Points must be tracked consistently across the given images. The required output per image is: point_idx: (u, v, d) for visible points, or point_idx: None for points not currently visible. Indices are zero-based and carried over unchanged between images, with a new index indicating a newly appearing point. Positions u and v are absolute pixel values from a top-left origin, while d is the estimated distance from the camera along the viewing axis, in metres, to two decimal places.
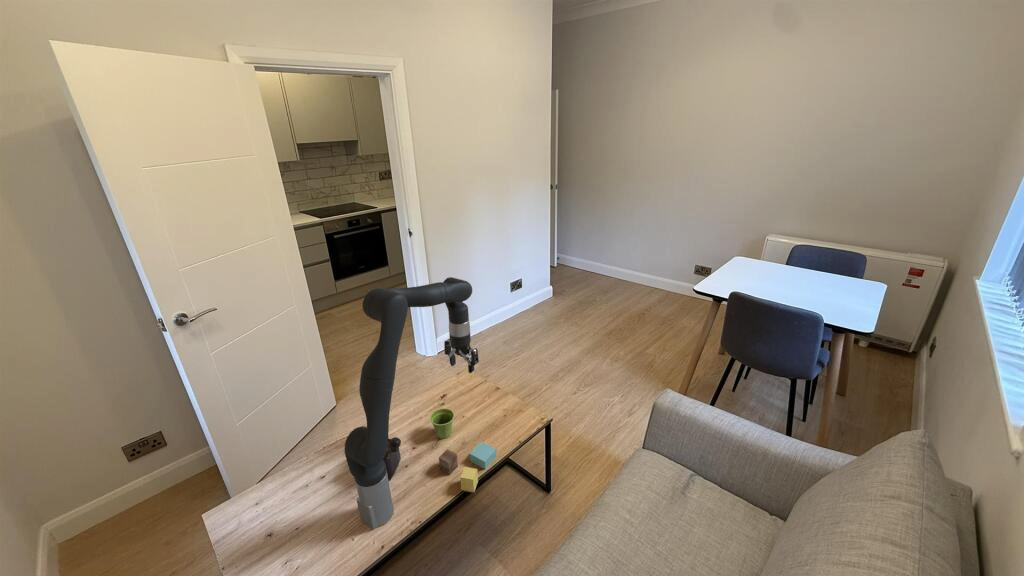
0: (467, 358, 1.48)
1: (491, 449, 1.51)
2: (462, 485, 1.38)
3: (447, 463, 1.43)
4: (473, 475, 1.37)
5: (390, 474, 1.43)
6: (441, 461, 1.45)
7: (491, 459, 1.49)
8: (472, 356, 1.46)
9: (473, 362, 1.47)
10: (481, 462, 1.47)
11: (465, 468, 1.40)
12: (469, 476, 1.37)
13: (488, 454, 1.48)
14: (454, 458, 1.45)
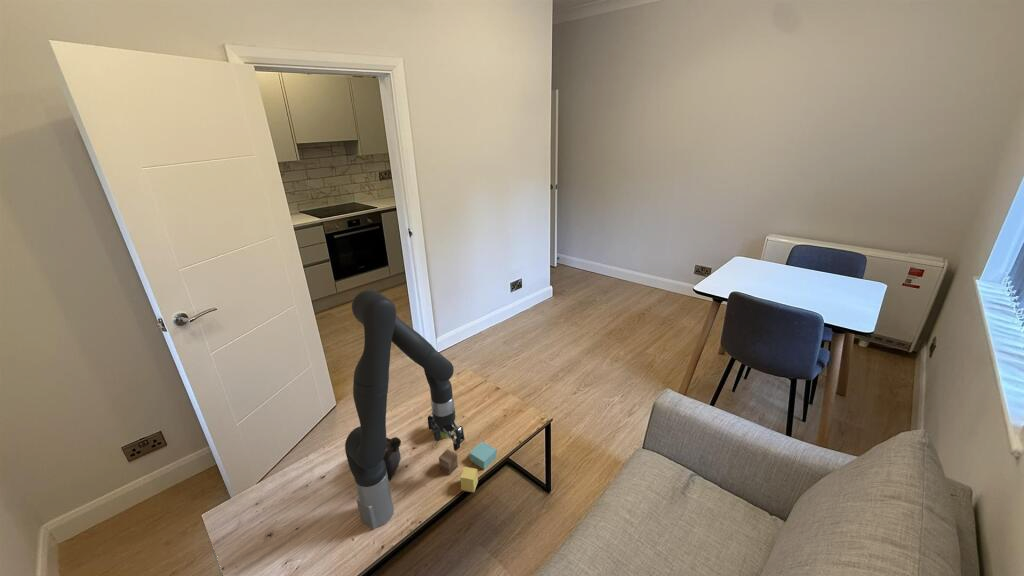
0: (452, 436, 1.38)
1: (491, 450, 1.50)
2: (462, 485, 1.38)
3: (447, 463, 1.43)
4: (473, 475, 1.37)
5: (390, 474, 1.43)
6: (441, 461, 1.45)
7: (491, 459, 1.49)
8: (457, 435, 1.36)
9: (458, 441, 1.37)
10: (480, 462, 1.47)
11: (465, 468, 1.40)
12: (469, 476, 1.37)
13: (488, 455, 1.48)
14: (454, 458, 1.45)
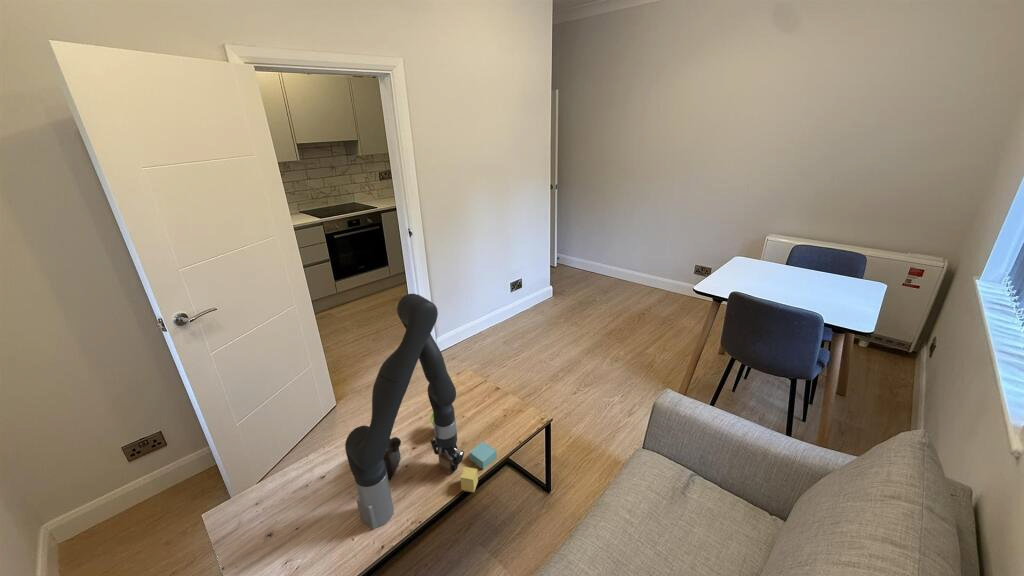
0: (451, 458, 1.42)
1: (491, 450, 1.50)
2: (462, 485, 1.38)
3: (447, 463, 1.43)
4: (473, 475, 1.37)
5: (390, 474, 1.43)
6: (441, 461, 1.45)
7: (490, 460, 1.49)
8: (457, 459, 1.40)
9: (456, 463, 1.42)
10: (479, 462, 1.47)
11: (465, 468, 1.40)
12: (469, 476, 1.37)
13: (487, 455, 1.48)
14: None
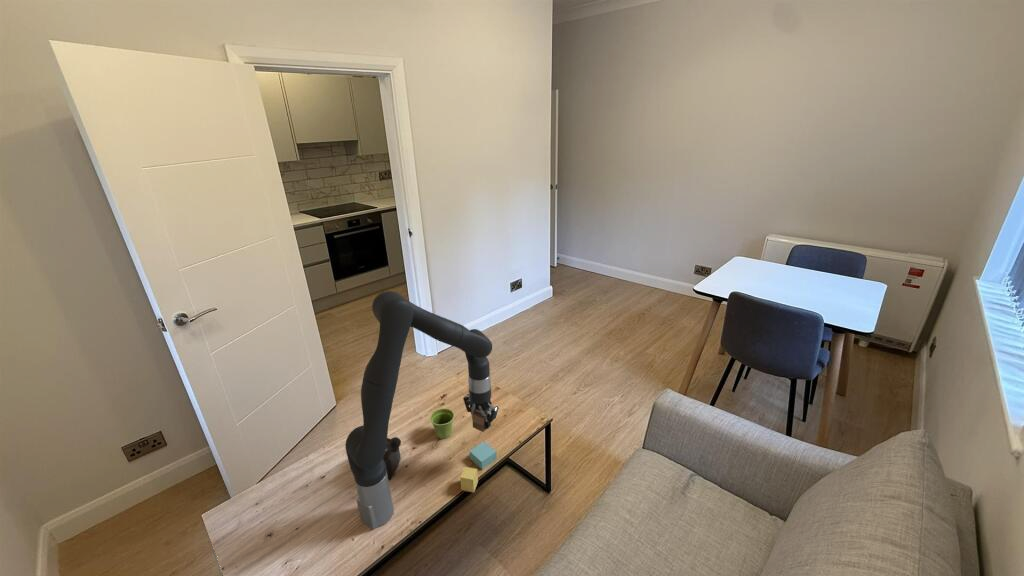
0: (485, 415, 1.40)
1: (491, 451, 1.50)
2: (462, 485, 1.38)
3: (481, 420, 1.40)
4: (473, 475, 1.37)
5: (390, 474, 1.43)
6: (474, 418, 1.42)
7: (490, 460, 1.49)
8: (492, 415, 1.38)
9: (490, 419, 1.39)
10: (478, 462, 1.47)
11: (465, 468, 1.40)
12: (469, 476, 1.37)
13: (487, 455, 1.48)
14: (487, 415, 1.43)
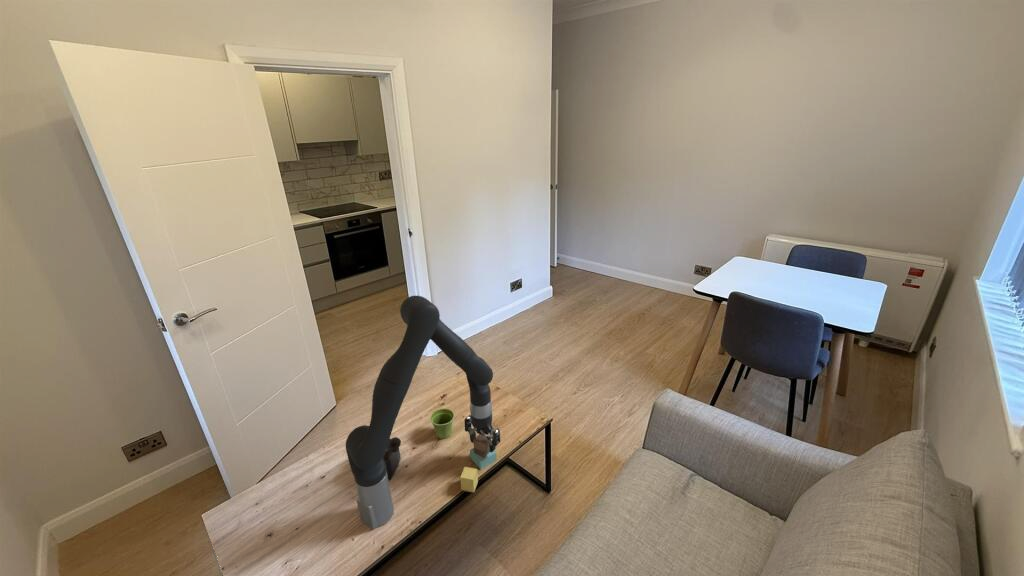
0: (489, 438, 1.43)
1: None
2: (462, 485, 1.38)
3: (482, 446, 1.45)
4: (473, 475, 1.37)
5: (390, 474, 1.43)
6: (476, 444, 1.47)
7: (489, 461, 1.48)
8: (494, 437, 1.41)
9: (495, 443, 1.42)
10: (477, 461, 1.47)
11: (465, 468, 1.40)
12: (469, 476, 1.37)
13: (486, 456, 1.48)
14: None
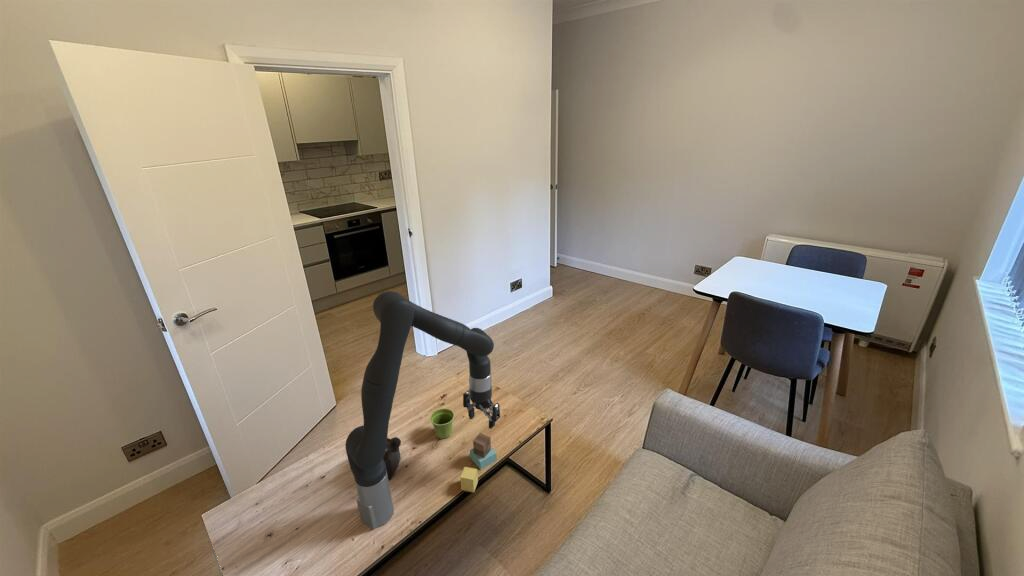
0: (488, 413, 1.39)
1: (491, 452, 1.50)
2: (462, 485, 1.38)
3: (482, 446, 1.45)
4: (473, 475, 1.37)
5: (390, 474, 1.43)
6: (475, 444, 1.47)
7: (489, 461, 1.48)
8: (494, 412, 1.37)
9: (494, 418, 1.38)
10: (477, 461, 1.47)
11: (465, 468, 1.40)
12: (469, 476, 1.37)
13: (486, 456, 1.48)
14: (488, 441, 1.47)
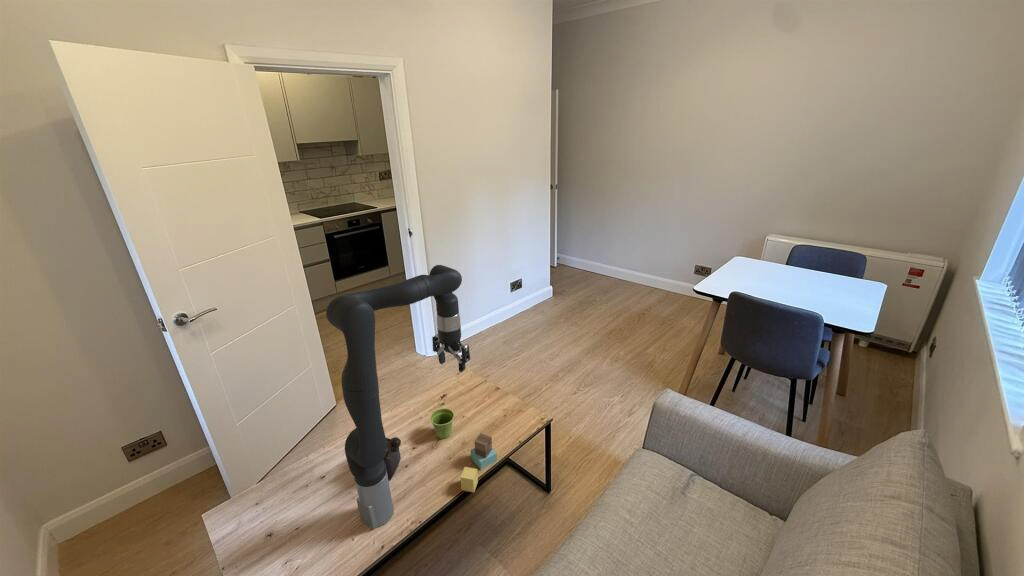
0: (457, 355, 1.34)
1: (492, 452, 1.50)
2: (462, 485, 1.38)
3: (484, 446, 1.45)
4: (473, 475, 1.37)
5: (390, 474, 1.43)
6: (477, 445, 1.47)
7: (489, 461, 1.48)
8: (463, 353, 1.32)
9: (464, 360, 1.33)
10: (478, 462, 1.47)
11: (465, 468, 1.40)
12: (469, 476, 1.37)
13: (487, 456, 1.48)
14: (489, 441, 1.48)
